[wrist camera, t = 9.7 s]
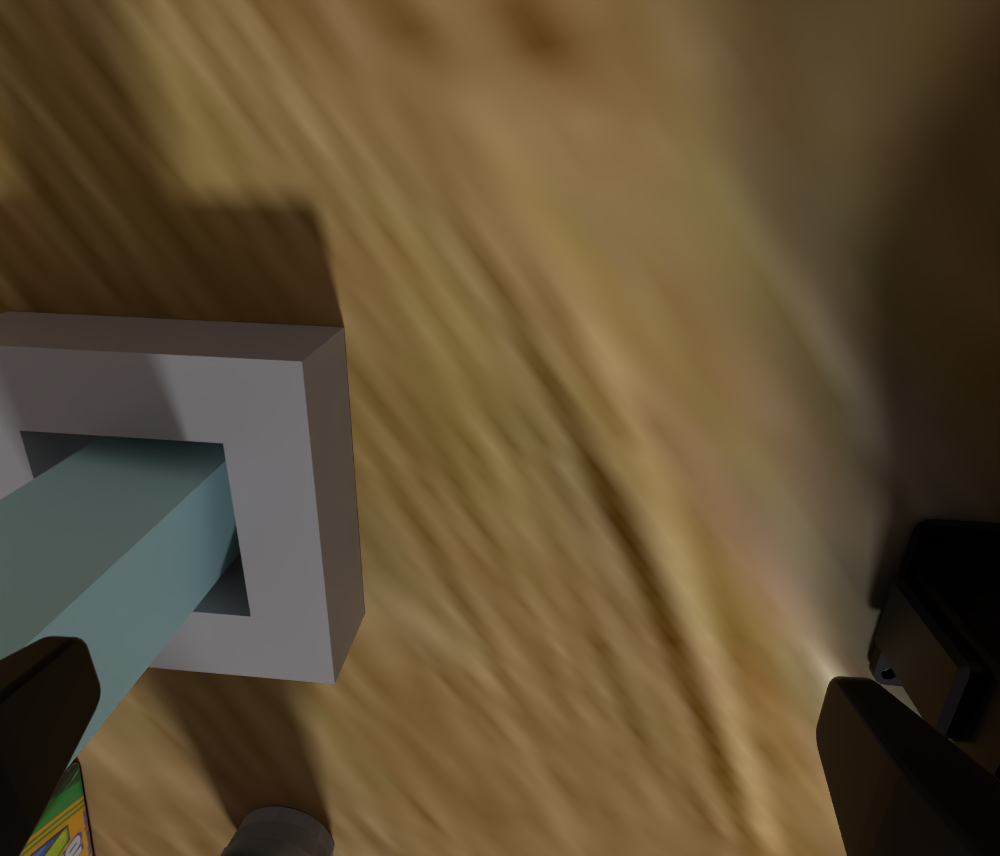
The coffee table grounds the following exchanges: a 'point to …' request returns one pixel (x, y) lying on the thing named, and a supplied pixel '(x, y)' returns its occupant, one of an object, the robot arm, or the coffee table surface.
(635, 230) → the coffee table surface
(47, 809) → the chalk box
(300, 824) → the beverage cup
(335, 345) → the socket
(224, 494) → the peg
